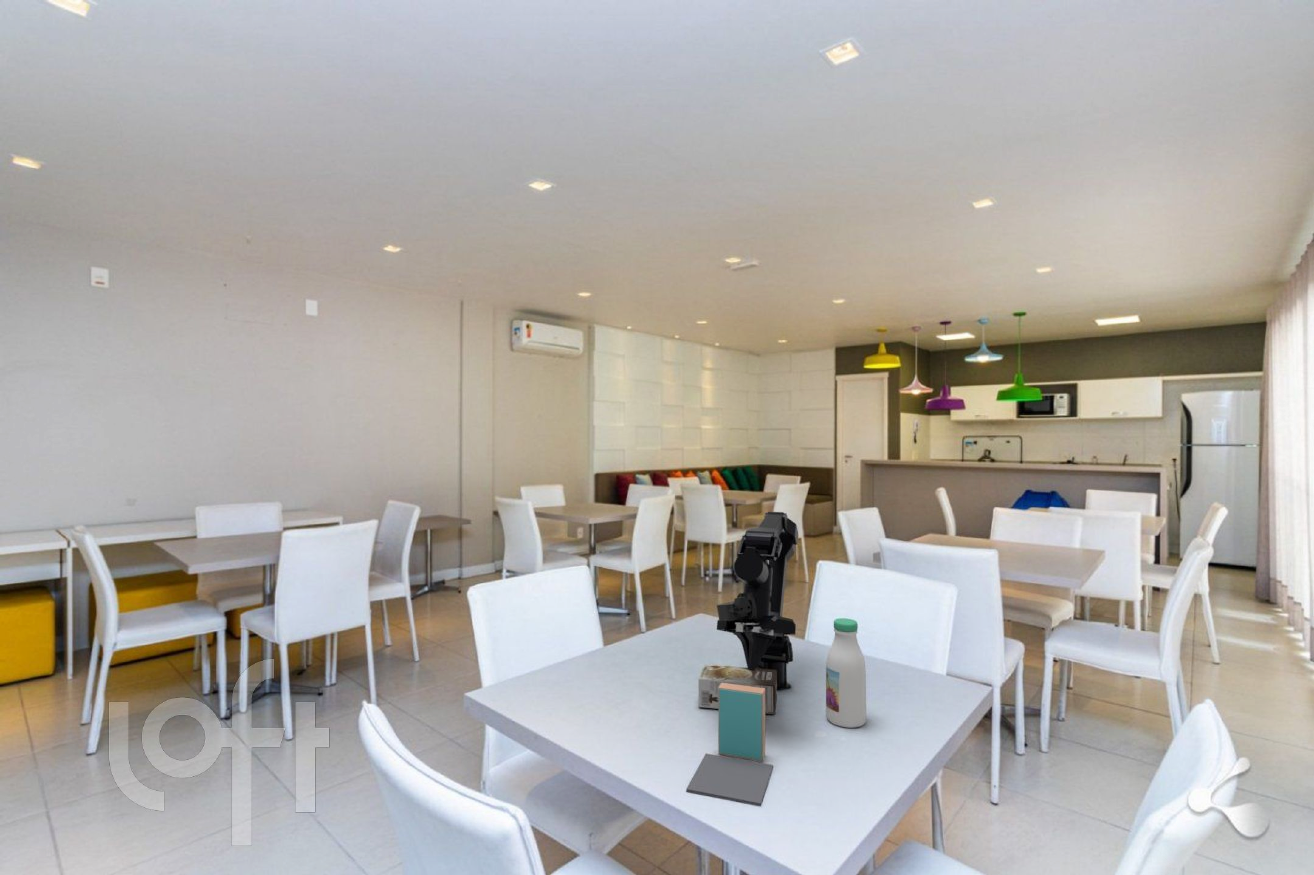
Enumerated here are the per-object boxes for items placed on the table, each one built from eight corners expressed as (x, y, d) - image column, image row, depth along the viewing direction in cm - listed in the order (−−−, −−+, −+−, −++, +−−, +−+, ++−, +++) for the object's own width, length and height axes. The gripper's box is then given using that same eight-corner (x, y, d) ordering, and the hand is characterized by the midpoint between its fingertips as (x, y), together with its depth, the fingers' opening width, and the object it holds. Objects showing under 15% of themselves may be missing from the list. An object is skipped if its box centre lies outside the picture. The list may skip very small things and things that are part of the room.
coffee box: (704, 662, 140) (777, 668, 136) (704, 691, 140) (777, 697, 136) (698, 678, 131) (776, 684, 127) (698, 708, 131) (776, 715, 127)
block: (721, 747, 114) (721, 682, 114) (765, 755, 111) (765, 688, 111) (718, 754, 112) (717, 687, 112) (762, 762, 109) (762, 693, 109)
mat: (705, 755, 111) (705, 753, 111) (773, 767, 107) (773, 764, 107) (686, 791, 100) (686, 788, 100) (760, 805, 96) (760, 803, 96)
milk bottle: (866, 714, 128) (865, 617, 128) (866, 731, 120) (865, 628, 120) (827, 709, 130) (827, 613, 130) (824, 725, 123) (824, 624, 123)
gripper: (699, 585, 133) (691, 662, 127) (754, 579, 117) (747, 667, 111) (741, 595, 137) (735, 670, 132) (799, 590, 122) (795, 675, 116)
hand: (751, 670), depth 122 cm, fingers closed
